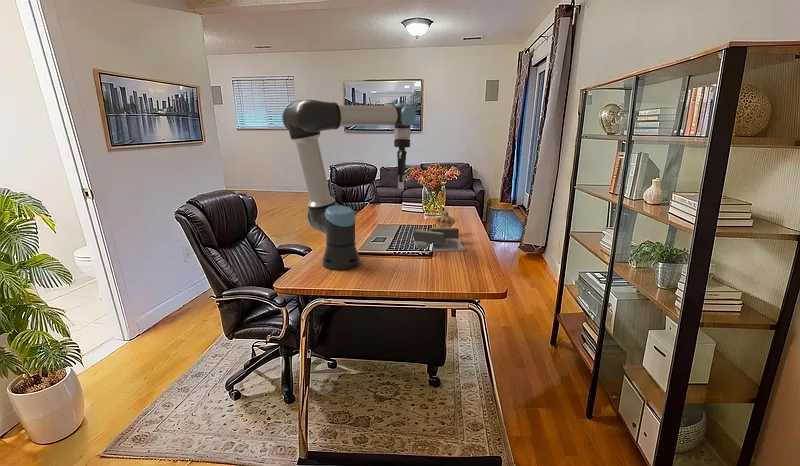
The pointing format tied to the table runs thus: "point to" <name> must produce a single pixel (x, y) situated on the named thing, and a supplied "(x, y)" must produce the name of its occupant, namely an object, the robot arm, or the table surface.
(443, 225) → the figurine
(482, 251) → the table surface
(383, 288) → the table surface
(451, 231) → the curved tan-striped slab
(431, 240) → the striped dark bar
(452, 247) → the level plate
